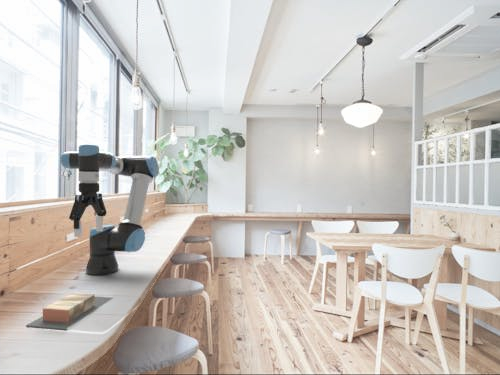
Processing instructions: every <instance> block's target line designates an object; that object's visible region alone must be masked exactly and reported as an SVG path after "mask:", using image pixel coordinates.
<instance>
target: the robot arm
mask: <svg viewBox="0 0 500 375" xmlns="http://www.w3.org/2000/svg"><path fill="white" fill-rule="evenodd" d="M60 163H61V165H62V167H64V168H65V169H71V170H73V169H76V170H78V182H79V183H78V192H80V193H81V194H75V195H74V201H73V205H72V208H71V211H70V215H69V217H68V219H69V220H70V221H73V232H74V233H73V236H74V238H82V237H83V220H82V217H83V215H84V214H85V211H86V209H87V208H88V207H89V206H91V207H92V209H93V211H94V212H95V213H96V216H95V227H91V229H90V230H89V237H88V238H89V258H88V261H87V265H86V267H85V274H87V275H91V276H102V275H107V274H109V275H110V274H113V273H116V272H117V271H119V263H118V260H117V257H116V254H115V252H121V253H122V252H125V253H126V252H127V253H135V252H138V251H140V250H141V249H142V247H143V246H144V243H145V240H146V232H145V230H144V229H143V225H142V224H141V223H142V217H143V212H144V209H145V203H146V199H147V195H148V189H149V186H150V184H151V183H152V182H153V180H154V178H156V177H158V175H159V172H160V171H159V170H160V169H159V164H158V160H157V159H156V157H155V156H153V155H126V156H125V155H124V156H123V155H122V156H117V155H115V154H114V153H111V152H109V151H100V146H99V145H97V144H90V143H89V144H88V143H83V144H80V145H78V151H72V150H71V151H65V152H63V153H62V154H61V155H60ZM100 172H109V173H110V174H112V175H117V176H122V177H123V176H124V177H130V178H131V179H132V182H131V185H130V186H131V187H130V190H129V195H128V199H127V203H126V208H125V212H124V215H123V219H122V221H121V222H119V224H118V226H117V227H116V226H115V225H114V224H108V225H104V217H106V215H107V209H106V205H105V203H104V200H103V194H102V193H99V192H100V183H99V182H100Z"/></svg>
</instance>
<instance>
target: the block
mask: <svg viewBox="0 0 500 375" xmlns="http://www.w3.org/2000/svg"><path fill="white" fill-rule="evenodd" d="M95 296H96V295H95V294H86V293H73V292H72V293H70V294H68V295H66V296H64V297H63V298H61V299H58V300H56V301H54V302H53V303H51V304H49V305H46V306H45V307H43V308H42V316H43V321H56V322H69V321H71V320H72V319H74V318H75V317H77V316H79V315H80V314H82V313H83V312H85V311H87V310H88V309H90V308H91V307H93V306H94V305H95Z"/></svg>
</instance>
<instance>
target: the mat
mask: <svg viewBox="0 0 500 375" xmlns="http://www.w3.org/2000/svg"><path fill="white" fill-rule="evenodd" d="M112 299H113V297H108V296H97V295H95V305H94V306H93V307H91V308H90V309H88V310H87V311H85V312H83V313H82V314H80V315H79V316H77V317H75V318H74V319H72V320H71V321H69V322H56V321H43V315H42V316H41V317H39V318H37V319H35V320H33V321H31V322H30V323H28V324H26V327H25V328H30V329H31V328H33V329H44V330H54V331H56V330H57V331H65V332H66V331H68V328H69V327H71V326H73V325H75V323H77V322H79V321H80V320H82V319H83V318H85V317H86V316H87V315H90V314H91V313H92V312H94V311H95V310H97V309H98V308H100V307H102V306H103V305H105V304H106V303H108V302H109V301H112Z"/></svg>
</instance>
